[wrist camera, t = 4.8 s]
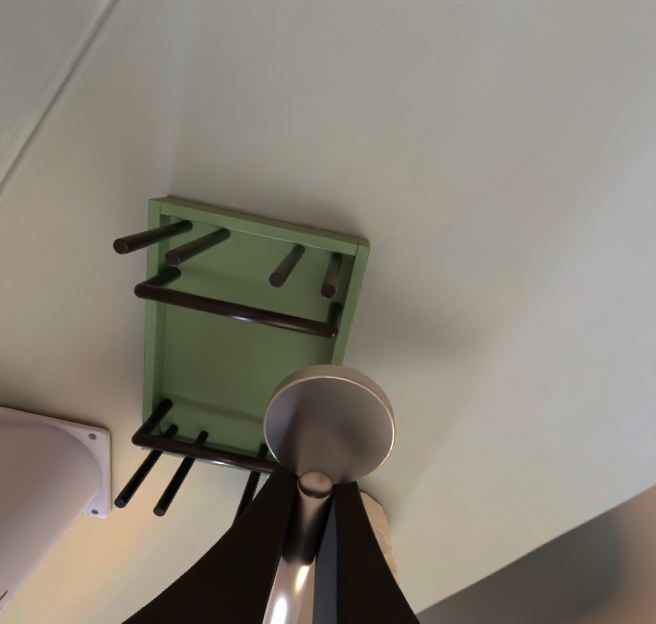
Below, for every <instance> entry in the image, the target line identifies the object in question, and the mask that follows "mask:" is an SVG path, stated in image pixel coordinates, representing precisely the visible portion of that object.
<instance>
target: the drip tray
mask: <svg viewBox="0 0 656 624" xmlns="http://www.w3.org/2000/svg"><path fill="white" fill-rule="evenodd" d="M184 220H188V221H190V222H191V223H192V225H193V228H192V230H191V231H189V232H186V233H183V234H181V235H178V236H175V237H172V238H169V239H167V240H164V241H161V242H158V243H155V244H152V245H150V246H148V249H147V279H149V278H151V277H153V276H155V275H157V274H159V273H161V272H163V271H165V270H167V269H169V268H171V267H177V268H179V269H180V271H181V276H180V278H178V279H177V280H175V281H173V282H172V283H170V284H168V285H167V286H165V287H163V288H167V289H172V290H177V291H181V292H186V293H190V294H195V295H200V296H204V297H209V298H214V299H218V300H223V301H227V302H232V303H237V304H241V305H246V306H251V307H255V308H260V309H264V310H269V311H274V312H278V313H283V314H288V315H292V316H297V317H301V318H306V319H311V320H315V321H320V322H325V323H326V318H327V313H328V309H329V305H330V304H331V303H332V302H338V303H340V304H341V307H342V309H341V318H340V326H339V334H338V336H337V337H336V338H334V339H327V338H323V337H318V336H314V335H309V334H304V333H300V332H295V331H290V330H286V329H281V328H277V327H272V326H267V325H263V324H258V323H253V322H249V321H244V320H240V319H235V318H230V317H226V316H221V315H216V314H212V313H207V312H203V311H198V310H193V309H189V308H184V307H179V306H175V305H170V304H166V303H161V302H156V301H152V300H147V299H146V319H145V354H144V389H143V423H144V422H145V421H146V420H147V419H148V418H149V416H150V415H151V414H152V413H153V412H154V411H155V409H156V408H157V407H158V406H159V405H160V403H161V402H162V401H163V400H165V399H169V400H171V401H172V403H173V407H172V408H171V409H170V410H169V412H168V413H167V414H166V416H165V417H164V418H163V419H162V421H161V422H160V423H159V424H158V426H157V427H156V428H155V430H154V431H153V432H152V433H151V435H156V436H160V437H162V436H163V435H164V433H165V432H166V430H167V429H168V428H169V426H170V425H172V424H175V425H177V426H178V431H177V433H176V434H175V436H174V437H173V439H174V440H179V441H183V442H188V443H194V442H195V440H196V438H197V437H198V435H199V433H200V432H201V431H206V432H207V433H208V434H209V436H208V438H207V440H206V442H205V444H204V445H203V446H207V447H211V448H216V449H221V450H225V451H230V452H235V453H239V454H244V455H248V456H253V457H256V456H257V453H258V451H259V448H260V446H261V445H262V444H266V445H267V443H266V440H265V436H264V431H263V420H264V415H265V411H266V408H267V406H268V403H269V401H270V398H271V396H272V394H273V392H274V391H275V389H276V388H277V386H278V385H279V384H280V383H281V382H282V381H283V380H284V379H285V378H287V377H288V376H290V375H291V374H293V373H294V372H297V371H299V370H301V369H303V368H307V367H310V366H315V365H324V364H329V365H339V366H341V365H342V361H343V357H344V353H345V348H346V344H347V340H348V336H349V332H350V328H351V324H352V320H353V316H354V312H355V308H356V304H357V299H358V295H359V291H360V287H361V283H362V279H363V275H364V271H365V267H366V263H367V259H368V254H369V250H370V244H369V241H368V240H363V239H359V238H354V237H349V236H345V235H340V234H336V233H331V232H326V231H322V230H317V229H312V228H308V227H303V226H299V225H294V224H289V223H285V222H280V221H276V220H271V219H266V218H262V217H257V216H253V215H248V214H243V213H239V212H234V211H229V210H225V209H220V208H216V207H211V206H206V205H202V204H197V203H193V202H188V201H183V200H179V199H174V198H170V197H162V198H154V199H149V214H148V230H152V229H155V228H159V227H162V226H166V225H169V224H173V223H177V222H180V221H184ZM222 228H226V229H228V230H229V232H230V237H229V238H228V239H227V240H225V241H223V242H221V243H219V244H217V245H215V246H213V247H211V248H209V249H207V250H205V251H204V252H202V253H200V254H198V255H196V256H194V257H192V258H190V259H188V260H186V261H184V262H182V263H180V264H178V265H176V266H172V265H170V264H168V263H167V261H166V259H165V255H166V253H167V252H168V251H169V250H172V249H174V248H176V247H179V246H181V245H184V244H186V243H188V242H191V241H193V240H196V239H198V238H200V237H203V236H205V235H208V234H210V233H212V232H215V231H217V230H220V229H222ZM298 244H300V245H302V246H303V247H304V248H305V252H304V254H303V256H302V257H301V259H300V260H299V262H298V263H297V265H296V266H295V268H294V269H293V271H292V272H291V274H290V275H289V277H288V279H287V280H286V282H285V283H284V285H283V286H282V287H280V288H275V287H273V286H272V285H271V284H270V283H269V277H270V275H271V274H272V273H273V272H274V270H275V269H276V268H277V267H278V266H279V264H280V263H281V262H282V261H283V260H284V259H285V257H286V256H287V255H288V254H289V253H290V251H291V250H292V249H293V248H294V247H295V246H296V245H298ZM333 253H340V254H341V256H342V263H341V269H340V274H339V280H338V286H337V292H336V295H335V296H334V297H333V298H331V299H326V298H324V297H323V296H322V295H321V287H322V284H323V281H324V278H325V274H326V271H327V268H328V265H329V261H330V258H331V255H332V254H333ZM142 425H143V424H142ZM142 449H143V450H148V451H152V449H150V448H145V447H142ZM162 454H166V455H171V456H175V457H180V458H185V457H186V456H182V455H178V454H173V453H168V452H163V453H162ZM266 459H267V460H272V461H276V462H278V461H277V460H276V459H275V457H274V456H273V454H272V453H271V451H270V449H269V450H268V453H267V456H266ZM195 461H198V462H203V463H208V464H212V465H217V466H222V467H226V468H231V469H236V470H240V471H245V472H250V473H251V470H247V469H243V468H238V467H233V466H229V465H224V464H219V463H215V462H210V461H206V460H201V459H196V460H195ZM261 475H264V476H268V477H269V476H270V475H271V474H266V473H261Z"/></svg>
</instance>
